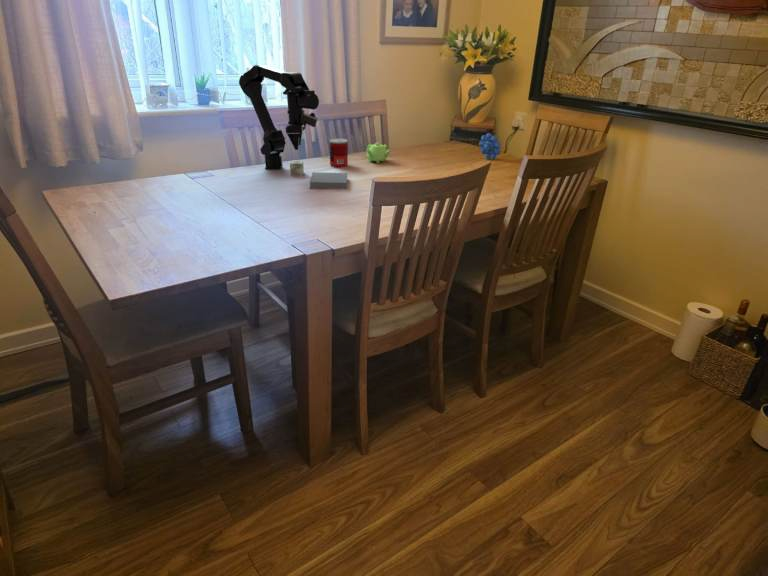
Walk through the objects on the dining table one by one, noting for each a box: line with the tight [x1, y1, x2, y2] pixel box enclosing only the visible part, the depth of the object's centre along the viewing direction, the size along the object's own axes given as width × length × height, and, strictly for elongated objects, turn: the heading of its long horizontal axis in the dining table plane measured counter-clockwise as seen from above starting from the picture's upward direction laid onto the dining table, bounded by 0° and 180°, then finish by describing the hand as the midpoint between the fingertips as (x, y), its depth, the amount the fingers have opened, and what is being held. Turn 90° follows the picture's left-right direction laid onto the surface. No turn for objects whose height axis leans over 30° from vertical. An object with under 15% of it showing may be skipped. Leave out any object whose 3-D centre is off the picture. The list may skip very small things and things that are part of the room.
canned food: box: [329, 138, 349, 168], centre depth 225 cm, size 8×8×11 cm
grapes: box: [478, 132, 502, 160], centre depth 243 cm, size 12×7×12 cm, turn 50°
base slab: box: [309, 172, 348, 190], centre depth 201 cm, size 14×14×2 cm
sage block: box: [289, 160, 305, 176], centre depth 212 cm, size 5×5×5 cm
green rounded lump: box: [365, 142, 392, 164], centre depth 234 cm, size 11×12×8 cm
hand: (297, 147), depth 208 cm, fingers open, 9 cm apart
